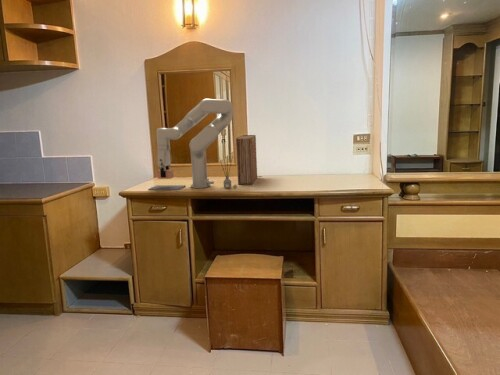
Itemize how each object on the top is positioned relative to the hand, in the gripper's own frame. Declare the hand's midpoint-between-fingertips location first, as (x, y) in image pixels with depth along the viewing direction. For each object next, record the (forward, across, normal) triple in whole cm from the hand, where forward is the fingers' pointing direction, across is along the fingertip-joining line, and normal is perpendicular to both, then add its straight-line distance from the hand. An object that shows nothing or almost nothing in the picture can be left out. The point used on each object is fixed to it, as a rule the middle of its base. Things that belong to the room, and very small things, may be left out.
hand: (165, 176), depth 247 cm
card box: (+1, 0, 0) cm, 1 cm away
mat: (+8, 0, 0) cm, 8 cm away
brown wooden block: (+7, -26, +48) cm, 54 cm away
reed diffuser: (+7, -3, +40) cm, 41 cm away
